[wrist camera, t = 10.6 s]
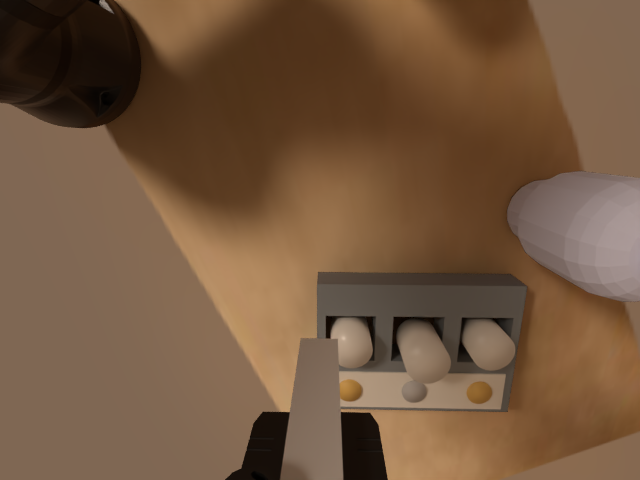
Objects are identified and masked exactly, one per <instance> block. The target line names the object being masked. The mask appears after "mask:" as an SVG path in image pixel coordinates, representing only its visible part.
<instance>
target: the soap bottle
mask: <svg viewBox="0 0 640 480" xmlns="http://www.w3.org/2000/svg"><path fill="white" fill-rule="evenodd" d="M507 222H508V224H509V226H510V228H511V231H512V232H513V233H514V234H515V235H516V236H517V237H519V240H520V242H521V244H522V246H523V248H524V251H525V253H527V254H528V255H529V256H530V257H531V258H533V259H534V260H535V261H536V262H538V263H539V264H540V265H542V266H544V267H546V268H547V269H549V270H551V271H552V272H554V273H556V274H557V275H559V276H561V277H563V278H564V279H566V280H568V281H569V282H571V283H573V284H575V285H576V286H578V287H580V288H581V289H583V290H585V291H586V292H588V293H591V294H595V295H599V296H602V297H606V298H610V299H614V300H618V301H622V302H638V301H640V178H636V177H628V176H619V175H611V174H602V173H594V172H586V171H576V172H568V173H560V174H558V175H556V176H554V177H552V178H550V179H546V180H538V181H533V182H531V183H529V184H527V185H525V186H523V187H521V188H520V189H519V190H518V191H517V193H516V194H515V195H514V196H513V197H512V199H511V201H510V204H509V206H508V208H507Z"/></svg>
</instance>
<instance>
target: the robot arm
mask: <svg viewBox="0 0 640 480" xmlns="http://www.w3.org/2000/svg"><path fill="white" fill-rule="evenodd" d="M140 71H141V60H140V51H139V46H138V42H137V39H136V36H135V33H134V31H133V29H132V27H131V25H130V23H129V21H128V19H127V17H126V16H125V14H124V13H123V12H122V10H121V9H120V8H119V6H118V5H117V4H116V3H115V2H114V1H113V0H0V103H8V104H11V105H13V106H15V107H17V108H19V109H21V110H23V111H25V112H27V113H28V114H31V115H32V116H35V117H36V118H38V119H40V120H43V121H45V122H48V123H51V124H54V125H58V126H64V127H75V128H91V127H97V126H100V125H103V124H106V123H108V122H110V121H112V120H114V119H115V118H116V117H118V116H119V115H120V114H121V113H122V112H123V111H124V110H125V109H126V108H127V107H128V105H129V104H130V102H131V101H132V99H133V97H134V95H135V93H136V90H137V87H138V84H139V79H140ZM225 480H388V479H387V473H386V467H385V461H384V455H383V449H382V443H381V438H380V432H379V426H378V424H377V422H376V421H375V419H374V418H373V416H372V415H371V414H370V413H357V412H341V409H340V384H339V358H338V339H316V338H301V341H300V347H299V354H298V361H297V368H296V375H295V381H294V388H293V395H292V402H291V408H290V412H262V414H261V415H260V416H259V417H258V419H257V420H256V421H255V422H254V424H253V428H252V431H251V435H250V440H249V443H248V446H247V451H246V453H245V457H244V461H243V464H242V468H241V469H239V470H237V471H235V472H233V473H232V474H231V475H230V476H229V477H228V478H226V479H225Z"/></svg>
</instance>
